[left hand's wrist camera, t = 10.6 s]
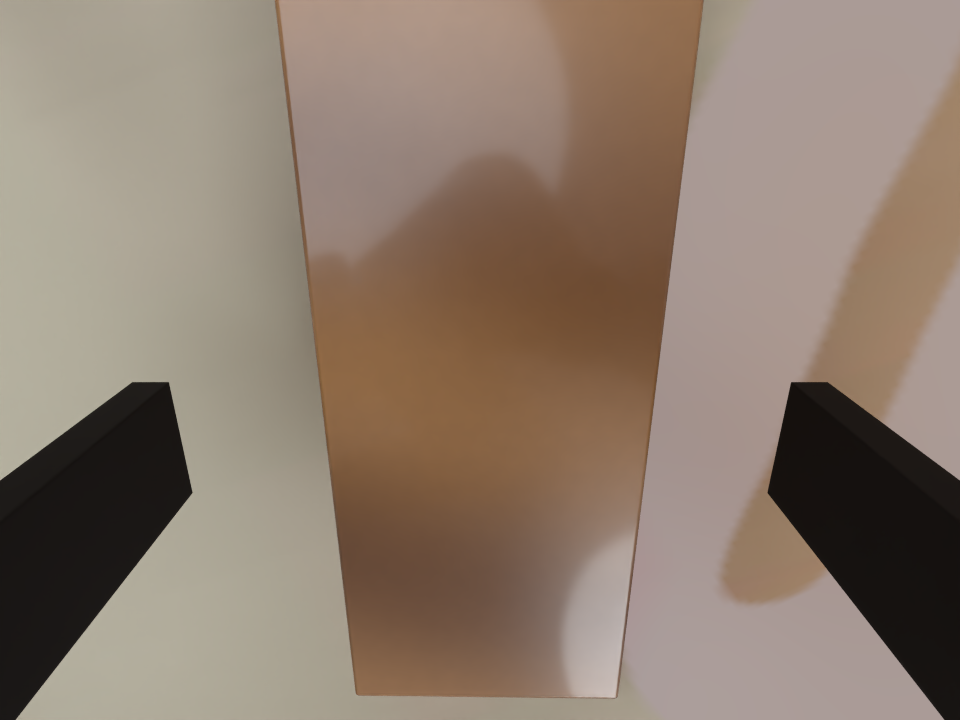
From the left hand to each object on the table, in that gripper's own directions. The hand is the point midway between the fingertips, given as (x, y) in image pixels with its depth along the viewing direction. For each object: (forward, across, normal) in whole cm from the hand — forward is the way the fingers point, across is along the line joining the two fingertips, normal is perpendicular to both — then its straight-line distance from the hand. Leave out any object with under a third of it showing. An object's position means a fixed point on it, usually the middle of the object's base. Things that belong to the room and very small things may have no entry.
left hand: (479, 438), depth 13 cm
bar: (+5, 0, -28) cm, 28 cm away
